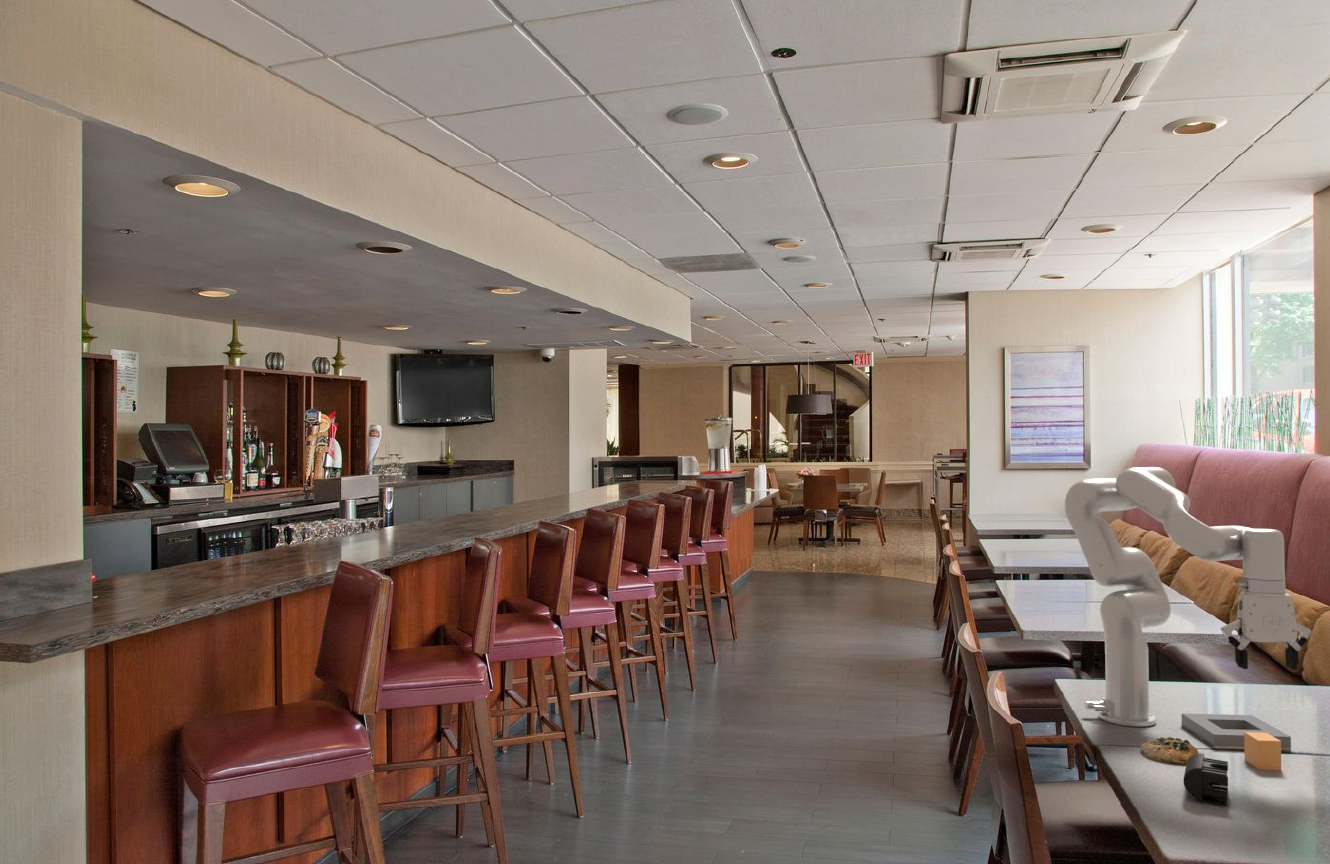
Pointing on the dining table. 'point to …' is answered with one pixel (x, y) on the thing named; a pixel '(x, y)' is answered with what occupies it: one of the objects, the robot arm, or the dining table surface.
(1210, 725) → the socket plate
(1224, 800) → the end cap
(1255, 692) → the dining table surface
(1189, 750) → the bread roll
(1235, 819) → the dining table surface
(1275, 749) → the plug
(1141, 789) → the dining table surface
